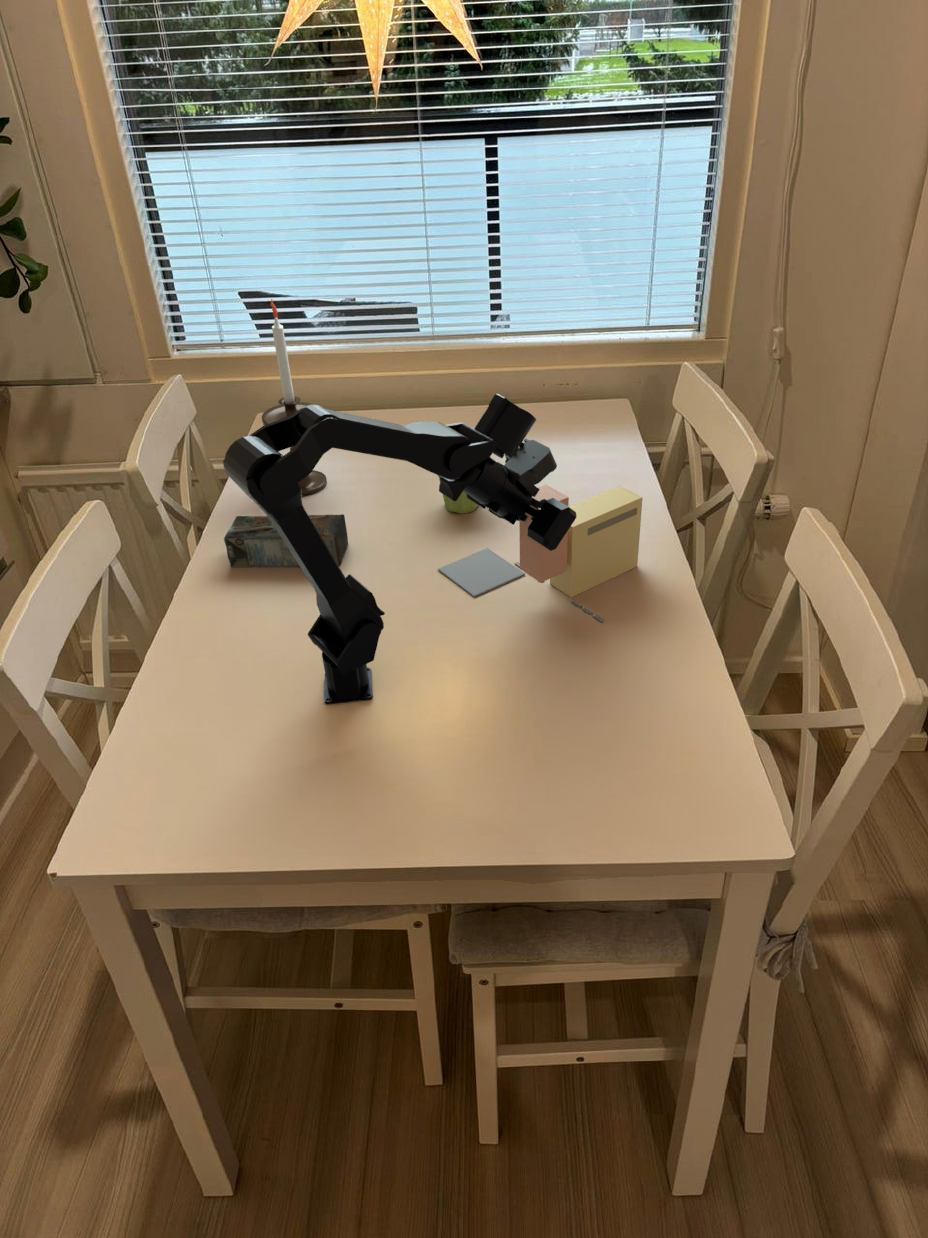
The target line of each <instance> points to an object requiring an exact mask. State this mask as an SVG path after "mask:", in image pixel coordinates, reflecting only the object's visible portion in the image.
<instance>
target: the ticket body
mask: <svg viewBox="0 0 928 1238" xmlns="http://www.w3.org/2000/svg"><path fill="white" fill-rule="evenodd" d="M568 507H570V508H571V509H572V510H574V511H575V512H576V517H577V518H576V519H575V521H574V522H573V524H572V525H571V527H570V528H569V530H568V542H567V571H566V572H564V573H561V574H559V575H557V576H555V577H552V578H550V579H549V584H550V585H551V586H553V587H554V588H556V589H557V590H559V591H560V592H562V593H563V594H565V595H566V596H568V597H569V598H573V597H575V596H577V595H579V594H582V593H584V592H586V591H587V590H590V589H592V588H594V587H596V586H599V585H601V584H602V583H605V582H607V581H609V580H612V579H613V578H616V577H618V576H620V575H622V574H624V573H626V572H628V571H630V570H632V569H634V568H637V567H638V561H639V552H640V551H639V549H640V534H641V521H642V511H643V509H642V508H643V496H641V495H639V494H638V493H635V492H633V491H632V490H629V488H626V487H624V486H622V485H618V486H614V487H613V488H610V489H608V490H606V491H603V492H601V493H598V494H596V495H594V496H591V497H589V498H586V499H584V500H581V501H579V502H576V503H574V504H572V505H570V506H569V505H568Z"/></svg>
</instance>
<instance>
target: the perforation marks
mask: <svg viewBox="0 0 928 1238" xmlns="http://www.w3.org/2000/svg"><path fill="white" fill-rule="evenodd" d="M514 566H517V568H520V562H519V561H517V562H515V563H514ZM570 602H571V604H572V605H574V606H575V607H577V608H578V609H579V608H581V607H582V609H581V610H582V611H583V612H584V613H586V614H588V615H589V616H592V615H593V614H594V612H593V611H591V610H590V609H589V608H586V607H583V604H581V603H579V602H577V600H575V599H573V600H571V601H570ZM592 618H594V619H595V620H596V621H598V622H599V623H601V624H603V623H605V619H604V618H602V617H601V616H599V615H597V614H596V615H593V617H592Z"/></svg>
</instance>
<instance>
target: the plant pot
mask: <svg viewBox="0 0 928 1238" xmlns="http://www.w3.org/2000/svg"><path fill="white" fill-rule="evenodd" d="M437 477H438V480H439V481H440V477H441V476H439V475H437ZM442 498H443V502H444V507H445V509H446V510H447V511H449V512H450V513H451V512H455V513H457V514H468V513H471V512H473V511H475V510H476V509H477V507H480V506H479V505H477V504H476V503H474V502H473V501H471V500H470V499H468V498H467V493H465V492H464V491H463V492H462V494H461V495H460V497H459V498H458V500H457V501H453V500H451V499H450V498H448V497H447V496H445V495H443V494H442Z"/></svg>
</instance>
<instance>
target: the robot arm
mask: <svg viewBox="0 0 928 1238" xmlns="http://www.w3.org/2000/svg"><path fill="white" fill-rule="evenodd" d="M536 421H537V418H536V417H535V416H534V415H533V414H532V413H530V412H529V411H527V410H526V409H524V408H522V407H520V406H518V405H517V404H515V403H514V402H512V401H510V400H509V399H508V398H507V397H505V396H503V395H501V394H499V393H495V394H494V395H493V397H492V399H491V400H490V402H489V405H488V407H487V408H486V410H485V411H484V413H483V414H482V416H481V417H480V419H479V421H478V422H477V423H476V425H475V427H472V426H470V425H469V424H467V423H465V422H462V421H461V422H456V423H455V422H454V423H450V424H449V423H448V424H444V423H442V422H441V421H415V422H412V423H408V424H405V423H403V424H401V423H395V422H391V421H390V422H389V421H385V420H380V419H376V418H371V417H366V416H362V415H356V414H351V413H347V412H342V411H338V410H332V409H327V408H324V407H323V406H321V405H318V404H315V405H308V406H305V407H303V408H302V409H300V410H299V411H297V412H296V413H294V414H293V415H292V416H289V417H287V418H284V419H281V420H278V421H275V422H273V423H270V424H267V425H264V426H263V425H262V426H261V427H260V428H258V429H257V430H255V431H254V432H252V433H251V434H249V435H248V436H246V435H245V436H243V437H242V436H241V437H240V438H238V439H236V440H234V442H232V443H231V445H229V447H228V449H227V451H226V452H225V456H224V459H223V461H222V463H223V464H222V465H223V468H224V471H225V473H226V475H227V476H228V478H230V479H231V480H232V481H233V482H234V483H235V484H236V485H237V486H238V487H239V489H240V490H241V491H243V493H245V494H246V495H247V497H249V499H251V500H252V501H253V502H254V504H256V505H257V506H258V507H259V509H261V510H262V512H264V513H265V514H266V516H268V517H269V519H270V520H271V522H272V524H273V525H274V527H275V528H276V530H277V531H278V533H279V535H280V536H281V538H282V539H283V541H284V542H285V544H286V545H287V547H288V549H289V550H290V552H291V553H292V555H293V556H294V558H295V560H296V561H297V563H298V564H299V566H298V567H299V568H300V569H301V570H302V572H303V574H305V577H306V578H307V580H308V581H309V583H310V584H311V586H312V587H313V590H314V592H315V594H316V598H315V599H316V606H317V608H318V609H317V610H318V611H319V616H318V617H317V619H316V620H315V621H314V623H313V625H312V626H311V628H310V629H309V631H308V632H307V636H308V638H309V639H310V640H311V642H312V643H313V644H314V645H315V646H317V648H318V649H320V652H321V658H322V664H323V669H324V687H323V688H324V690H323V691H324V695H323V696H324V698H323V699H324V700H323V701H324V704H326V705H334V704H342V703H343V704H344V703H352V702H361V701H362V702H363V701H370V700H372V699H373V698H374V692H373V691H374V690H373V674H372V673H373V672H372V668H371V667H368V666H367V665H368V664H369V663H372V662H373V661H374V660H375V656H376V652H377V648H378V644H379V641H380V640H379V639H380V636H381V634H382V630H384V627H385V625H384V624H385V623H384V621H383V618H382V616H385V614H386V612H385V611H383V610H382V609H381V608H380V607H379V606H378V604H377V601H376V597H375V596H374V594H373V592H372V591H371V590H370V589H368V587H366V586H365V585H364V584H363V583H361V581H359V580H358V579H357V578H356V577H354V576H353V575H352V574H351V573H349V574H348V575H347V576H345V574H344V573H343V571H342V570H341V568H340V566H338V565H337V563H336V561H335V560H334V558H333V556H332V554H331V553H330V551H329V549H328V548H327V546H326V544H325V543H324V541H323V539H322V538H321V536H320V534H319V533H318V531H317V529H316V528H315V526H314V524H313V523H312V521H311V519H310V518H309V516H308V515H309V514H308V513H307V511H306V510H305V508H304V506H303V496H302V492H301V487H300V484H299V482H300V481H301V480H303V479H304V478H305V477H307V476H308V475H309V474H310V473H311V472H312V470H315V468H316V466H317V465H318V463H319V461H320V460H321V458H322V457H323V456H324V454H326V453H327V452H329V451H330V450H332V449H337V450H343V451H348V452H354V453H360V454H366V455H369V456H370V455H371V456H377V457H383V458H388V459H392V460H399V461H405V462H408V463H410V464H413V465H414V466H417V467H420V468H422V469H423V470H426V471H427V472H429V473H432V474H434V475H437V476H438V475H439V476H441V477H440V480H439V485H438V486H439V487H438V492H439V493H441V494H442V496H443V495H445V496H447V497H448V498H450V499H451V500H453V501H457V500H458V498H459V497H460V495H461V494H462V492H463V491H464V492H465V493H467V498H468V499H470V500H471V501H473V502H474V503H476V504H477V505H479V506H478V507H481V508H482V509H484V510H486V508H487V509H488V511H489V513H491V514H493V515H494V516H496V517H497V518H499V519H504V520H505V521H507V522H508V523H509V524H511V525H515V523H516V522H519V520H521V521H523V522H525V521H526V520H527V518H528V516H527V515H525V513H527V514H529V515H530V516H532V518H531V520H532V522H531V524H530V525H529V527H528V535H527V536H528V537H530V538H531V539H533V540H534V541H536V542H537V543H539V544H541V545H542V546H544V547H545V548H547V549H548V550H550V551H552V550H555V549H556V548H557V546H558V545H559V543H560V542H561V540H562V539H563V537H564V536H565V534H566V533H567V531H568V530H569V528H570V527H571V525H572V524H573V522H574V521H575V519H576V518H577V517H576V512H575V511H574V510H572V509H571V508H570V507H569V505H568V506H566V505H565V504H563V503H561V502H559V501H558V500H556V499H554V498H551V499H549V500H546V499H543V500H541V501H538V500H536V499H534V498H532V496H533V497H535V496H536V495H537V493H538V491H539V490H540V489H539V488H538V487H537V486H536V485H537V484H540V482H541V481H543V480H544V479H545V478H546V477H547V476H548V475H549V474H550V473H553V472H554V471H555V470H556V469H557V467H558V466H557V465H558V464H557V462H556V460H555V458H554V455H553V453H552V450H551V449H550V447H549V446H546V445H545V444H543V443H541V442H540V441H538V440H535V439H527V438H526V437H527V435H528V434H529V432H530V431H531V429H532V428H533V426H534V424H535V423H536ZM295 445H296V446H295ZM292 446H295V447H294V448H293V449H292V450H291V451H290V450H289V451H288V452H287V453H285V454H284V455H283V454H282V453H281V452H280V451H283V450H287V449H290V447H292ZM492 455H495V456H497V457H499V458H500V459H503V458H504V457H505V460H504V461H505V462H504V464H502V463H501V462H499V461H496V460H495V459H493V458H492V457H491V456H492ZM530 505H531V506H533V507H535V508H536V509H537V510H535V509H534V508H532V507H530ZM539 508H540V509H539Z"/></svg>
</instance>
